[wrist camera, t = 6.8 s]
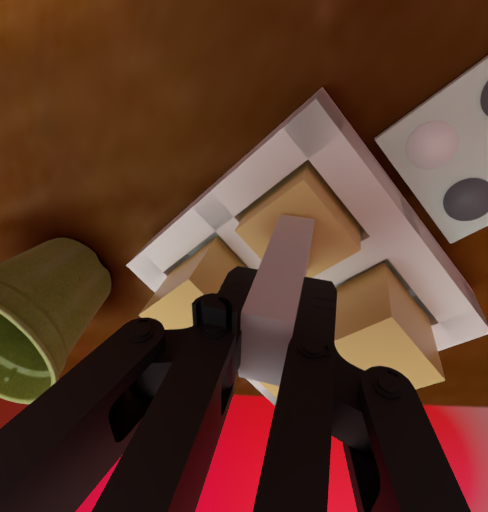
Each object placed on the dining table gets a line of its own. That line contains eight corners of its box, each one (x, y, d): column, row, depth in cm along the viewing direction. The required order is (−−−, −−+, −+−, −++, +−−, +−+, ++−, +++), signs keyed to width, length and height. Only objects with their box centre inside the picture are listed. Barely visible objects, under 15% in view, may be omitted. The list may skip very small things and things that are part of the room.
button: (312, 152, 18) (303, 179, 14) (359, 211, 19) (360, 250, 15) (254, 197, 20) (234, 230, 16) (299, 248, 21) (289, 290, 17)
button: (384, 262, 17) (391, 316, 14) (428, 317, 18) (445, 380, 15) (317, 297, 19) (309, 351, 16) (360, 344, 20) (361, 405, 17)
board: (322, 86, 17) (316, 98, 14) (471, 288, 20) (492, 332, 17) (153, 236, 24) (125, 265, 21) (284, 366, 28) (276, 406, 25)
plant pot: (29, 292, 31) (-67, 370, 24) (16, 197, 25) (-113, 262, 18) (127, 331, 30) (59, 423, 23) (136, 242, 25) (49, 326, 18)
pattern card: (535, 20, 14) (542, 19, 13) (609, 159, 16) (617, 163, 15) (374, 138, 17) (374, 141, 17) (448, 240, 19) (450, 245, 19)
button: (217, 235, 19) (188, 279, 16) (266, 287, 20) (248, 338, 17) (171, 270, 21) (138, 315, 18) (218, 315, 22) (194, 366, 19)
